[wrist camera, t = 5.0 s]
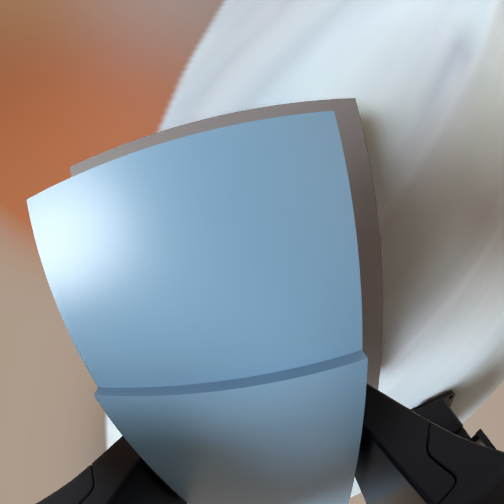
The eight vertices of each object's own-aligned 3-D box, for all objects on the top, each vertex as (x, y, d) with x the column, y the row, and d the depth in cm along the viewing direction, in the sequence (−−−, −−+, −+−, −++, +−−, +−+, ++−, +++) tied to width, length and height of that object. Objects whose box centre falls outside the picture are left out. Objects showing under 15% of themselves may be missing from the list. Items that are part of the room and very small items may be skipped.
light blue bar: (283, 149, 6) (340, 106, 2) (324, 452, 9) (342, 523, 5) (128, 187, 6) (17, 201, 2) (236, 467, 9) (235, 538, 5)
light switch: (359, 376, 16) (375, 405, 13) (186, 409, 16) (179, 441, 13) (332, 114, 12) (355, 98, 9) (101, 168, 12) (70, 167, 9)
